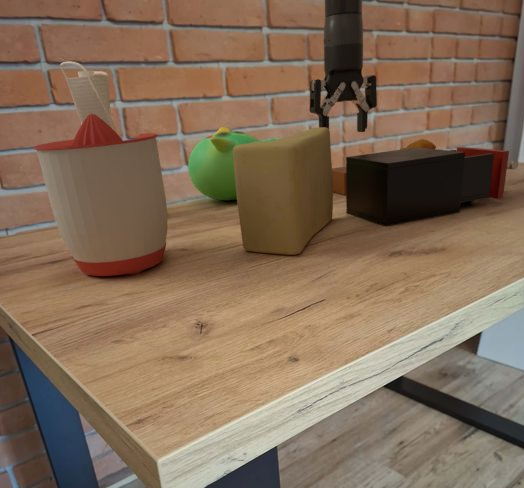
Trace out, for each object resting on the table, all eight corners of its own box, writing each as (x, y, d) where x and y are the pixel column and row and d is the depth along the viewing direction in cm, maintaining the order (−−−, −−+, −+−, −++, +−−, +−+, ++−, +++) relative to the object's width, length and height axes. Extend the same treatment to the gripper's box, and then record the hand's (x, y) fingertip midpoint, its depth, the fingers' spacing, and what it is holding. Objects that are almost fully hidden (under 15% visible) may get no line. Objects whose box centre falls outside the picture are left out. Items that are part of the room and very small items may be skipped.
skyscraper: (98, 228, 97) (61, 60, 84) (93, 221, 104) (57, 64, 91) (142, 221, 100) (112, 57, 87) (134, 214, 106) (105, 61, 94)
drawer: (477, 186, 100) (482, 143, 97) (523, 194, 91) (531, 147, 87) (399, 199, 95) (400, 155, 91) (439, 209, 85) (443, 160, 82)
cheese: (303, 217, 92) (300, 127, 85) (355, 219, 87) (355, 124, 80) (239, 252, 75) (228, 143, 68) (298, 257, 70) (293, 140, 64)
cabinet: (413, 201, 97) (416, 147, 92) (459, 212, 86) (465, 152, 82) (346, 213, 92) (346, 157, 88) (385, 226, 82) (388, 163, 77)
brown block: (343, 187, 115) (343, 166, 113) (362, 192, 109) (363, 170, 107) (326, 190, 114) (325, 169, 112) (344, 195, 107) (344, 172, 105)
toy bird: (250, 189, 123) (244, 123, 116) (289, 197, 110) (285, 123, 103) (181, 201, 115) (171, 131, 109) (214, 211, 102) (205, 132, 96)
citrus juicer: (195, 245, 80) (175, 105, 71) (152, 283, 65) (120, 112, 56) (105, 247, 84) (75, 113, 74) (44, 284, 68) (-3, 122, 59)
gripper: (319, 43, 93) (321, 138, 101) (385, 39, 98) (383, 131, 105) (301, 47, 100) (304, 136, 107) (364, 43, 104) (363, 130, 111)
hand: (343, 133), depth 106 cm, fingers open, 8 cm apart
